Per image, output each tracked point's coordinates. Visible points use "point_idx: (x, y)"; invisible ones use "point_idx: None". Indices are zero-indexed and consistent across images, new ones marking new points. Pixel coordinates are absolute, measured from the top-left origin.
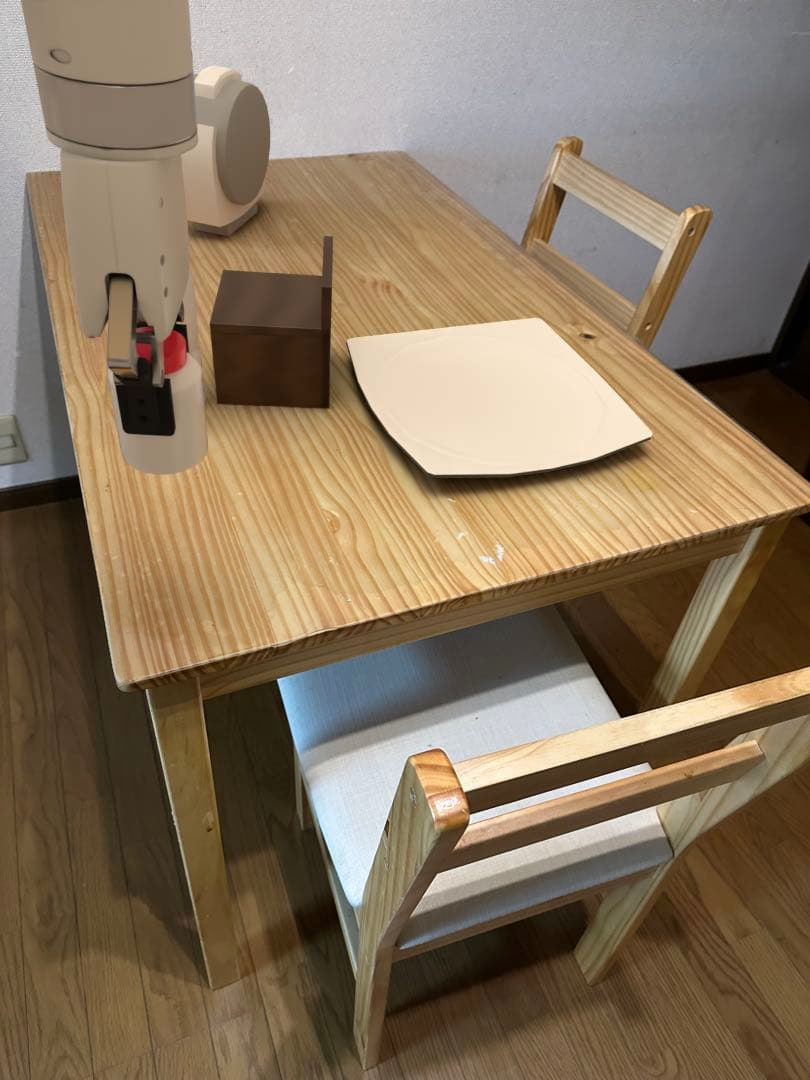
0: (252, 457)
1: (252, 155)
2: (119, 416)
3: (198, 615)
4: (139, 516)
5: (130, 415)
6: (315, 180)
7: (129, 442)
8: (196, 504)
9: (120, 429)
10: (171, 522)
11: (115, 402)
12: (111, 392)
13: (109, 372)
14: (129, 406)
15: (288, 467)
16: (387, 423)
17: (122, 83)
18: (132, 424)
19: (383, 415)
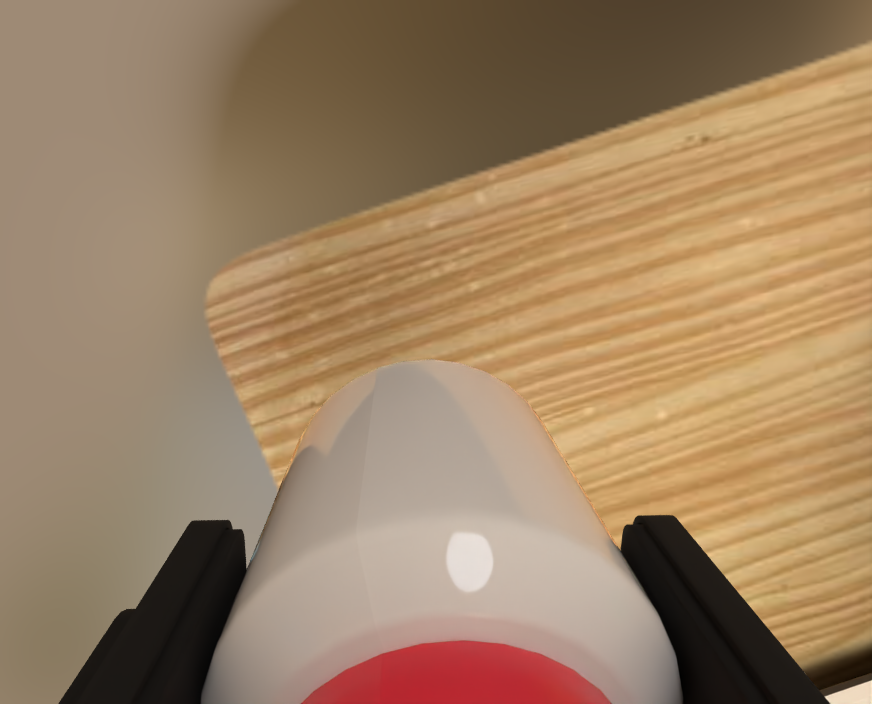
0: (776, 429)
1: None
2: (306, 479)
3: (333, 376)
4: (601, 225)
5: (92, 652)
6: None
7: (295, 460)
8: (633, 334)
9: (326, 439)
10: (580, 293)
11: (311, 499)
12: (335, 500)
13: (366, 552)
14: (69, 693)
15: (737, 499)
16: (837, 699)
17: None
18: (119, 615)
19: (867, 691)
